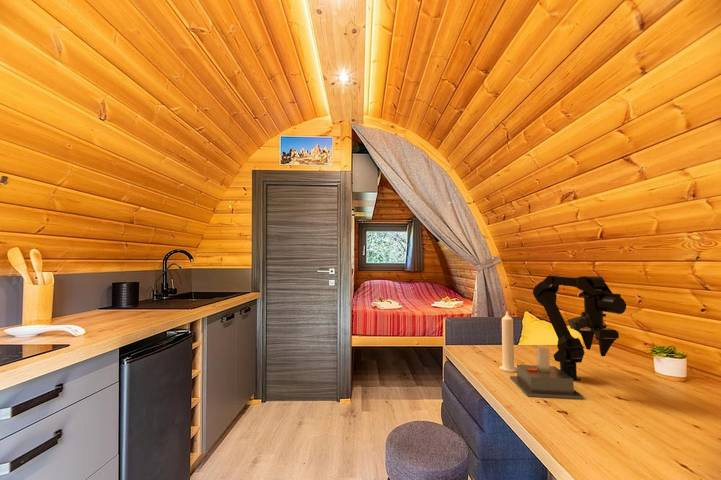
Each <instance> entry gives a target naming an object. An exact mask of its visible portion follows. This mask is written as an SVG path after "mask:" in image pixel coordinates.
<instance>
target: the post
mask: <svg viewBox="0 0 721 480" xmlns="http://www.w3.org/2000/svg"><path fill="white" fill-rule="evenodd" d="M536 366H537V370H538V372H539V373H550V366H551V365H550V349H549V348H548V347H545V346H536Z"/></svg>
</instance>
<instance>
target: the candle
mask: <svg viewBox="0 0 721 480" xmlns="http://www.w3.org/2000/svg"><path fill="white" fill-rule="evenodd" d="M501 343H502V344H501V345H502V347H501V348H502V349H501V350H502V353H501V354H502V356H501V357H502V365H500V366H499V370H501V371H503V372H506V373H517V366H516V367H515V350H514V349H515V348H514V347H515V346H514V343H515V341H514V319H513V318H512V317H511V316H510V314H509V311H508V310H507V311H506V313H505V315H504V316H503V317H502V318H501Z"/></svg>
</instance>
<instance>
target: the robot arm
mask: <svg viewBox="0 0 721 480" xmlns="http://www.w3.org/2000/svg"><path fill="white" fill-rule="evenodd" d="M560 286H563V287H564V286H565V287H573V288H577V290H581V291H582V292H580V293H579V294H578V297H580V298H581V297H582V298H583V310H584V311H581V313H580V316H575V317H572V318H569V319H567V323H568V325H569V328H568V326H567V323H566V322H565V319H564V318H563V316H562V313H561V311H560V309H559V306H558V305H557V298H558V296H557V293H558V291H559V289H560ZM532 295H533V297H534V298H535V300H536V301H537V302H538V304H540V305H541V307H543V308H544V310H545V312H546V314H547V317H548V319H549V321H550V324H551V326H552V328H553V330H554V332H555V335H556V337H557V344H556V345H557V351H556V352H555V353H554V354H553V359H554V361H555V362H558V363H559V370H561V371H562V372H564V373H565V374H567V375H568V376H570V377H571V378H573V381H576V380H577V381H578V380H579V381H581V379H582V378H580V377H579V376H578V375H577V374H578V372H577V371H578V370H577V363H578V364H579V363H582V362H583V359H584V356H585V353H586V352H585V348H586V350H588V351H590V350H591V348H592V344H593V341H594V339H596V340H597V342H598V346H599V347H598V348H599V352H600V353H599V354H600V356H601V357H606V355H607V354H608V351H609V350H610V348H611V347H612V345H613V343H614V342H615V341H617V339H620V333H619V332H618V331H617V330H616V329H613V328H611V327H608V326H607V325H606V324H604V323H605V322H604V317H605V318H606V317H607V313H609V314H617V315H622V314H623V313H625V311H626V310H627V303H626V301H625V300H624V298H622V295H621V294H620V293H613V292H612V289H610V287H609V286H608V285H607V283H606V281H605V280H604V278H603V277H602V276H600V275H596V276H595V275H593V276H592V275H588V276H587V275H585V276H577V277H576V276H565V275H564V276H563V275H559V274H550V275H547V276H546V277H545V278H544V279H543V280H542V281H540V282H539V283H537V284H536V286H535V287H534V288H533V289H532ZM604 312H605V313H604ZM569 329H571V330H574V331H577V332H578V334H580V337H581V338H582V341H583V344H582V342H581V339H580V338H579V337H574V336H573V335H572V334H571V332H570V330H569Z"/></svg>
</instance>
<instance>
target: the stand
mask: <svg viewBox="0 0 721 480" xmlns="http://www.w3.org/2000/svg"><path fill="white" fill-rule="evenodd" d="M516 368H517V372H516V375H510V376H509V379H510V380H511V381H512V382H513V383H514V384H515V385H516V387H518V388H519V389H520V390H521V392H522V393H523V394H524V395H525V396H526V397H528V398H530V397H531V398H549V399H550V398H551V399H568V400H569V399H571V400H573V399H574V400H584V395H582V394H581V393H580V392H578V391H577V390H575V388H574V385H575V384H574V380H573V378H571V377H570V376H568V375H567V374H565V373H564V372H562V371H561V370H560V368H558V367H556V366H555V365H554V366H553V365H550V373H539V372H538V370H537V365H534V364H533V365H531V364H529V365H528V364H517V365H516Z"/></svg>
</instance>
